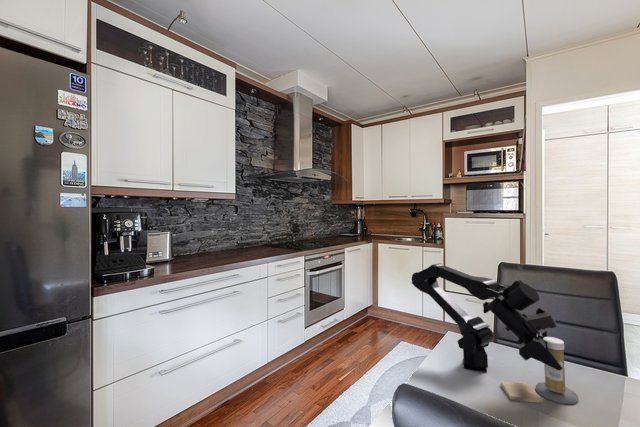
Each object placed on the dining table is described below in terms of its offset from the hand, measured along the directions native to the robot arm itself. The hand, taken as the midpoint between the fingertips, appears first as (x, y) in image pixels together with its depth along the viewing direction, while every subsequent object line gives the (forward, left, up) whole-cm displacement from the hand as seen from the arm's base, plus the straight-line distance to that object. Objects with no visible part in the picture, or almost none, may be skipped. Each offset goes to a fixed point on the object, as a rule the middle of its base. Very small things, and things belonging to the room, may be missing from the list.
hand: (560, 365), depth 79 cm
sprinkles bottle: (-1, 0, -7) cm, 7 cm away
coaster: (-1, 0, -8) cm, 8 cm away
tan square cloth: (-10, -3, -8) cm, 13 cm away
